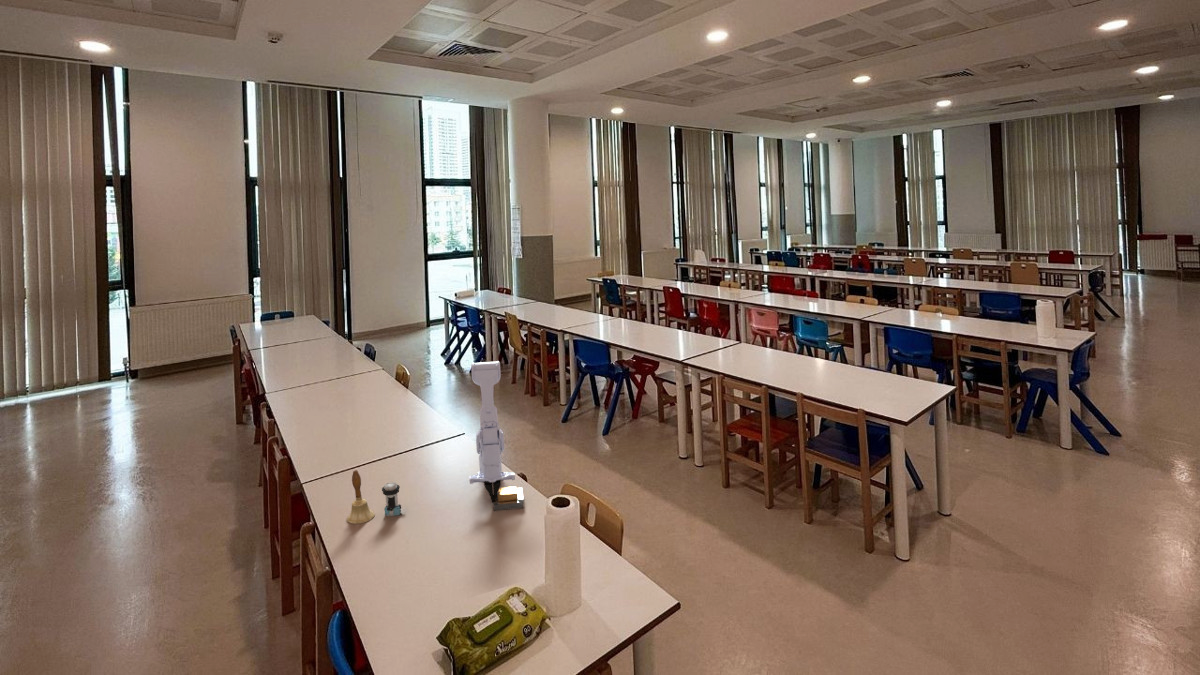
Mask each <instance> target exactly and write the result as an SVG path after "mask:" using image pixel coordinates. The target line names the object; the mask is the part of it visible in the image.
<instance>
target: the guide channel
mask: <svg viewBox="0 0 1200 675" xmlns="http://www.w3.org/2000/svg"><path fill="white" fill-rule="evenodd" d="M516 488H517V501H513V502H502V503H499V502H496V503H493V511H505V510H514V509H515V510H517V509H524V493H523V487H516ZM496 501H499V499H498V493H497V496H496Z"/></svg>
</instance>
